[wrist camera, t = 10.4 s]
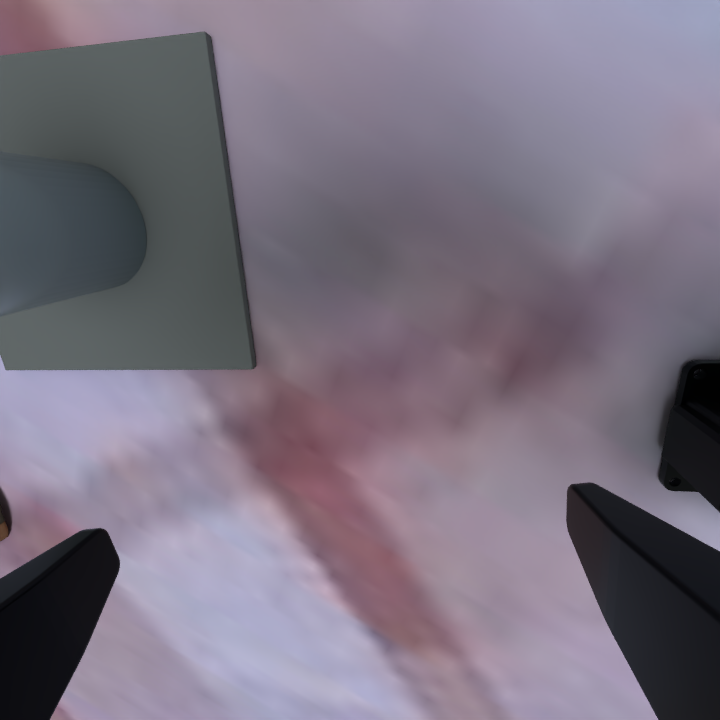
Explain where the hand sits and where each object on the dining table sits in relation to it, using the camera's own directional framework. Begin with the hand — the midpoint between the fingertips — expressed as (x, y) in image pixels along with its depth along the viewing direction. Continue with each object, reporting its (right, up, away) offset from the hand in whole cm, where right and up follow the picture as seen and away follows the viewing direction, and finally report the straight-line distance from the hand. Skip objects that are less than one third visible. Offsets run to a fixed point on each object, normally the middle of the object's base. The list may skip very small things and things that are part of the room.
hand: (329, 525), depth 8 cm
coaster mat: (-12, +9, +12) cm, 19 cm away
